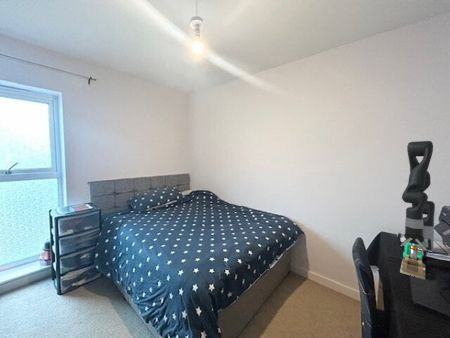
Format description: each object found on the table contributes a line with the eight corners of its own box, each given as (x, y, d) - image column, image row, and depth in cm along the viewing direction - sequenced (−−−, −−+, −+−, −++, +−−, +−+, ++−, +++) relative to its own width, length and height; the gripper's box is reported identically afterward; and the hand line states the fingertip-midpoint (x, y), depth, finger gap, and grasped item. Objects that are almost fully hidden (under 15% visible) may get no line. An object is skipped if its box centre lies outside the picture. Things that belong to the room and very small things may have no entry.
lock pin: (409, 261, 118) (409, 244, 118) (417, 263, 116) (417, 246, 115) (409, 263, 116) (409, 246, 115) (417, 265, 113) (417, 248, 113)
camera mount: (420, 263, 118) (420, 246, 117) (403, 258, 123) (403, 242, 123) (422, 256, 125) (423, 240, 125) (406, 252, 131) (406, 237, 131)
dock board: (402, 260, 121) (402, 252, 121) (425, 265, 115) (425, 257, 114) (400, 272, 108) (400, 263, 108) (425, 279, 102) (425, 270, 101)
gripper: (431, 227, 112) (431, 255, 113) (398, 222, 122) (397, 248, 123) (432, 230, 107) (431, 260, 108) (397, 224, 117) (396, 252, 118)
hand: (413, 253), depth 115 cm, fingers open, 8 cm apart
